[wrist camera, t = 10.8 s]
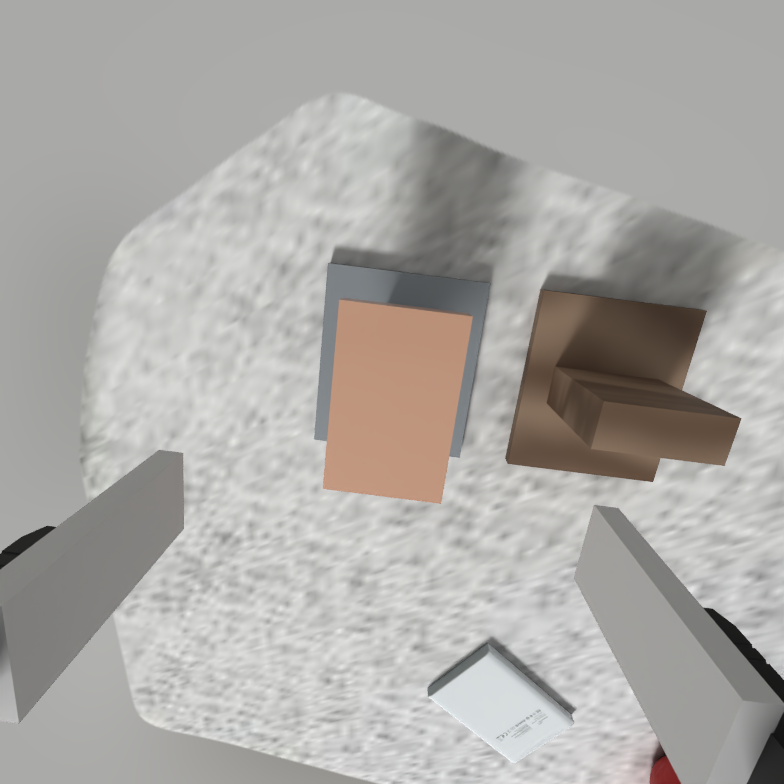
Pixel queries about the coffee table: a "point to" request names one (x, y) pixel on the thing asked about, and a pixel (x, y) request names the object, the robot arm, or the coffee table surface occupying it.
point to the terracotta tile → (394, 398)
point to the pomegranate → (663, 773)
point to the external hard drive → (500, 704)
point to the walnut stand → (613, 390)
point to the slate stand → (401, 292)
